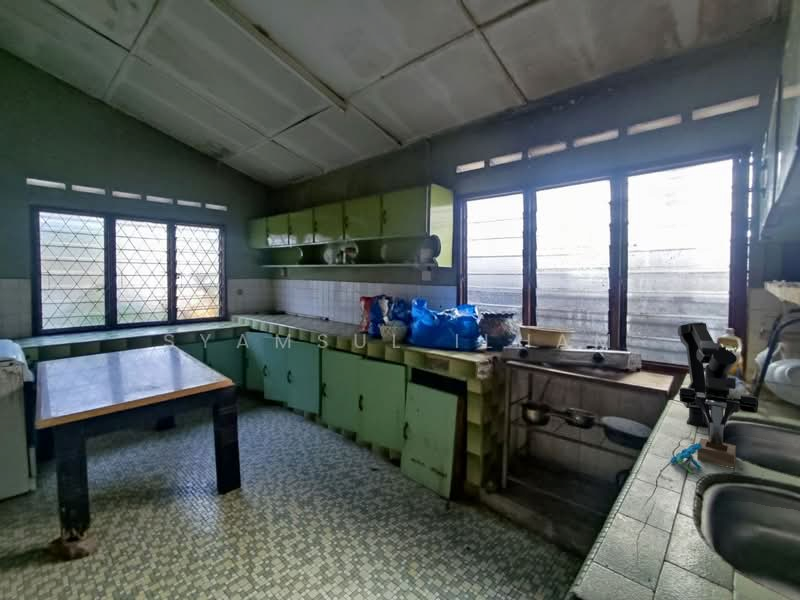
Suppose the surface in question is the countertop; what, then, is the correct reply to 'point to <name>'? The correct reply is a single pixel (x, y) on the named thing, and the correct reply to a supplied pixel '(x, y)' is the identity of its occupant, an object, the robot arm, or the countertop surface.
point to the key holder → (717, 453)
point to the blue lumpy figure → (687, 456)
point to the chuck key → (716, 421)
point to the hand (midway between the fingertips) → (716, 424)
